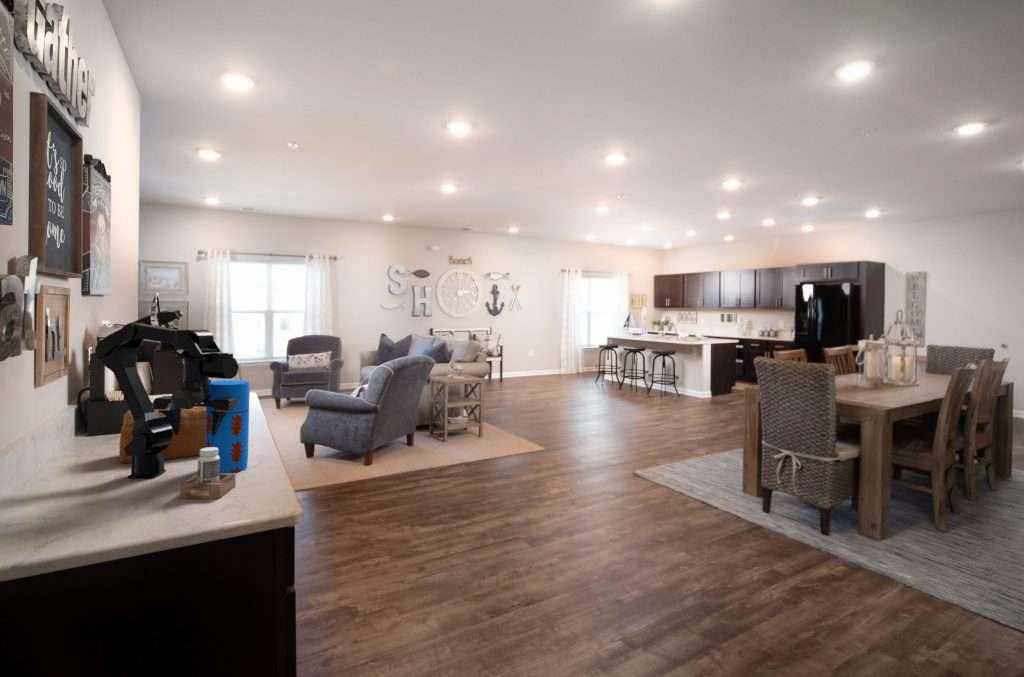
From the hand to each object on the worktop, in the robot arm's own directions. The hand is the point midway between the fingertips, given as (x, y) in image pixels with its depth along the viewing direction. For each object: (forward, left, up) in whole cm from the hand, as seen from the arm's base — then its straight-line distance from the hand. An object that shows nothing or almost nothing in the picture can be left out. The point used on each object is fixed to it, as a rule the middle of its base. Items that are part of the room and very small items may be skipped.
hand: (195, 435), depth 136 cm
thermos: (+4, +10, -12) cm, 16 cm away
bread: (-19, +26, -12) cm, 34 cm away
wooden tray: (+8, -10, -12) cm, 18 cm away
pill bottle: (+8, -10, -10) cm, 16 cm away
